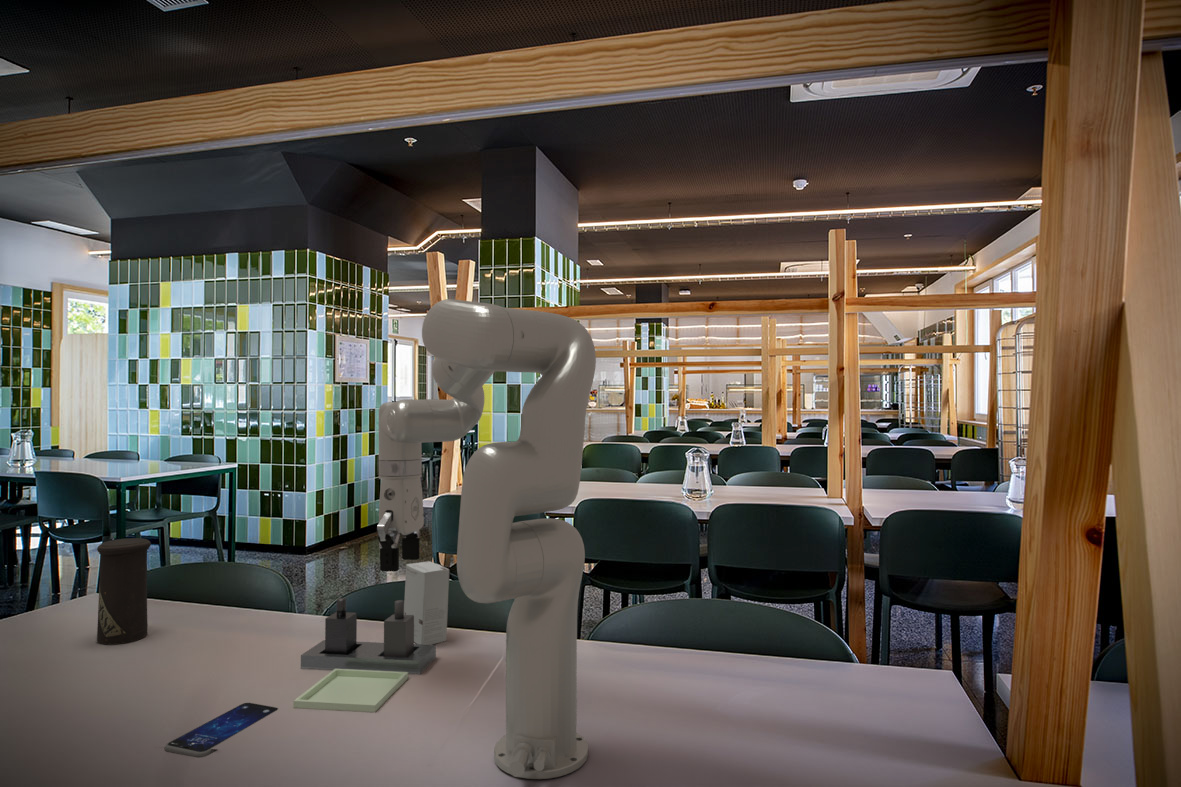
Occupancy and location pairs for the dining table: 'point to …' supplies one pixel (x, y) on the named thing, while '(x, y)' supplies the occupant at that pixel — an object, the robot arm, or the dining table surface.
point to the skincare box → (427, 601)
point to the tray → (351, 690)
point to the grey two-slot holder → (359, 649)
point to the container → (122, 591)
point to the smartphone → (218, 730)
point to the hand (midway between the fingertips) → (400, 564)
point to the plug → (399, 633)
